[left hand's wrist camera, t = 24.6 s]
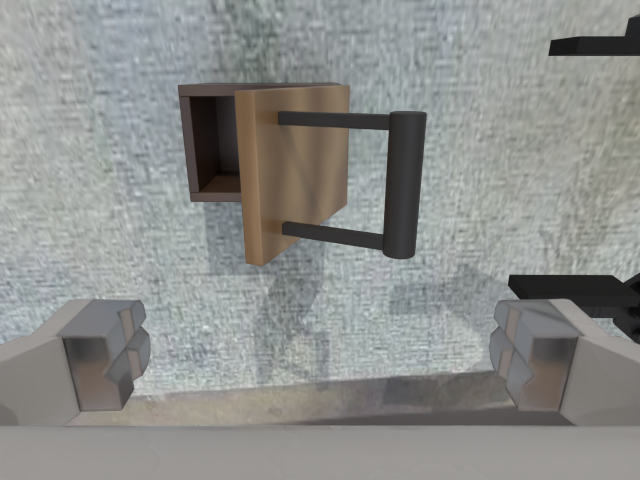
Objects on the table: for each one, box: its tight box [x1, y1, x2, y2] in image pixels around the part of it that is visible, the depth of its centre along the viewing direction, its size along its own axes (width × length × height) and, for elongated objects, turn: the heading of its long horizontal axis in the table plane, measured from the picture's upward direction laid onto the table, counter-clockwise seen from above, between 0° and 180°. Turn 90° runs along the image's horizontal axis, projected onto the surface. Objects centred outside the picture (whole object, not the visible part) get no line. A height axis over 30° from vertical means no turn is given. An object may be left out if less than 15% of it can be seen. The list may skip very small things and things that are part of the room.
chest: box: [178, 83, 340, 202], centre depth 40 cm, size 13×9×10 cm
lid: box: [234, 85, 427, 266], centre depth 27 cm, size 14×9×9 cm
